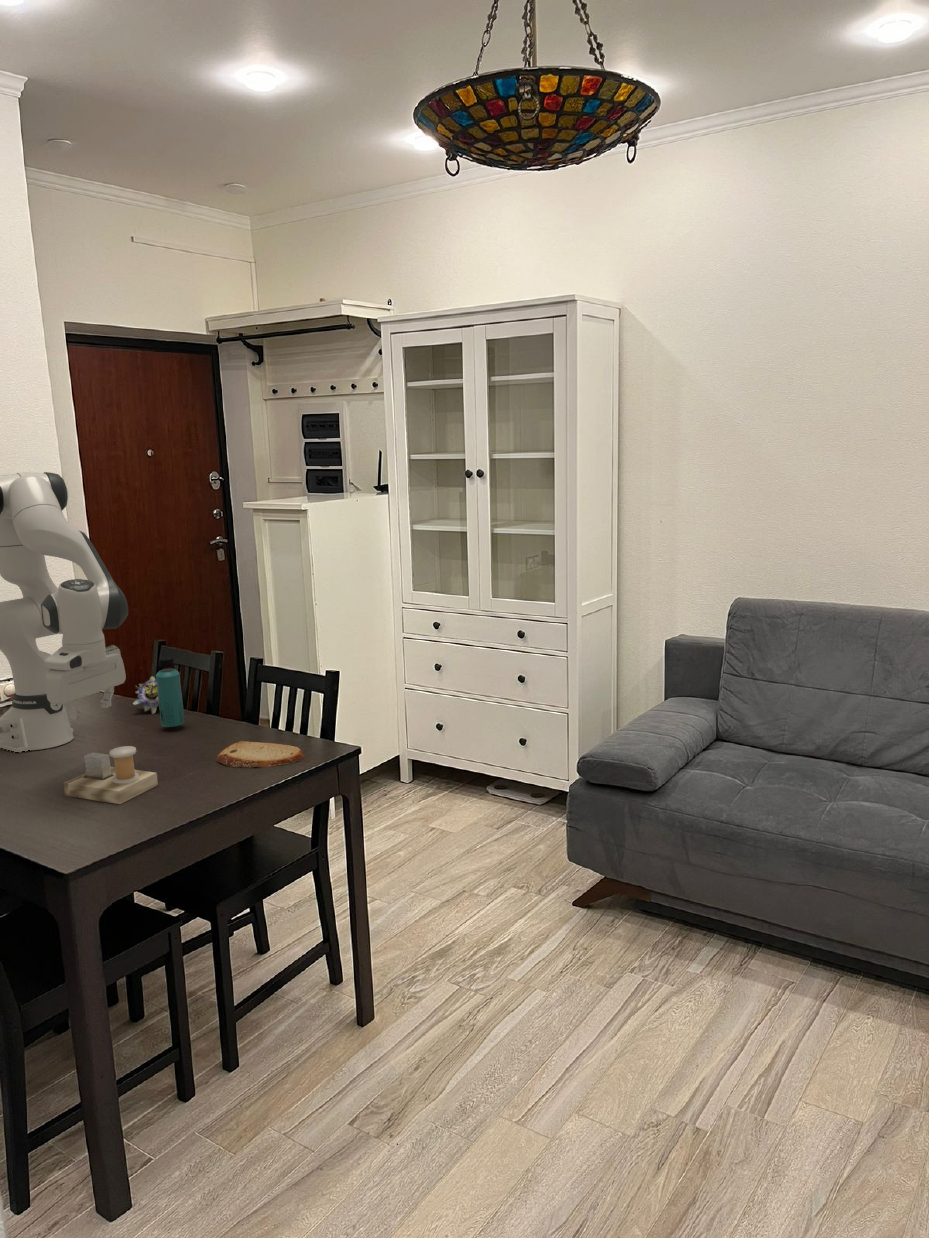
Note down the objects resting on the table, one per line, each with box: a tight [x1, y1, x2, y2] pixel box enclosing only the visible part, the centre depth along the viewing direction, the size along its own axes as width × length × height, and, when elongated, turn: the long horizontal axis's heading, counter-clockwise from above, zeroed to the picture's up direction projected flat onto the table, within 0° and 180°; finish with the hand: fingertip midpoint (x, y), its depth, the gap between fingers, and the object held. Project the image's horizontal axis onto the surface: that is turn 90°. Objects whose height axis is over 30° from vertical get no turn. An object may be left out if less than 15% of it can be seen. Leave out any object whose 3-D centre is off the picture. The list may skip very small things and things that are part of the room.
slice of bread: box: [215, 740, 305, 769], centre depth 232 cm, size 18×18×4 cm
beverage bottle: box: [155, 656, 186, 728], centre depth 257 cm, size 6×7×20 cm
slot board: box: [63, 765, 159, 805], centre depth 214 cm, size 16×12×3 cm
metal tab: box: [83, 752, 112, 780], centre depth 215 cm, size 5×2×8 cm, turn 66°
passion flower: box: [131, 675, 159, 715], centre depth 278 cm, size 11×11×12 cm
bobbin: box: [109, 745, 139, 785], centre depth 211 cm, size 6×6×7 cm
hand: (90, 713), depth 212 cm, fingers open, 8 cm apart
